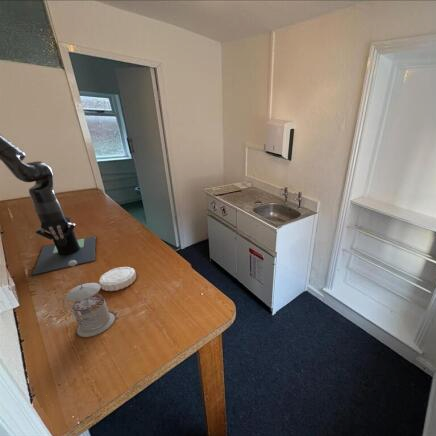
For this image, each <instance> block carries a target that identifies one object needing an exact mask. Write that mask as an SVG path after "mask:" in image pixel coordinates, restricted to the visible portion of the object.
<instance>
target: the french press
mask: <svg viewBox="0 0 436 436" xmlns="http://www.w3.org/2000/svg"><path fill="white" fill-rule="evenodd" d="M76 264H77V262H76V261H75V260H71V261H69V262H68V265H69V266H71V267H73V269H74V271H75V274H76V278H77V279H78V282H79V285H77V286H75V287H74V288H72V289H71V290H70V291H68V292H67V294H66V295H65V298H64V299H63V300H62V303H61V305H62V307H63V310H65V311H66V312H67V313H68V314H70V315H73V316H74V318H75V320H76V322H77V325H78V327H77V330H76V334H77V335H78V336H79V337H83V338H90V337H94V336H97V335H99V334H101V333H103V332H104V331H106V330H107V329H109V328H110V327H111V326H112V325H113V324H114V322H115V318H116V317H115V315H114V314H113V313H112V312H110V311H109V308H108V305H107V302H106V300H105V298H104V297H103V295H102V294H100V293H99V292H100V290H101V289H102V288H101V286H100V284H99V282H98V283H97V282H88V283H87V282H86V283H82V281H81V279H80V277H79V275H78V274H79V273H78V272H77V270H76V267H75V266H77V265H76ZM74 265H75V266H74ZM65 301H66V303H67V304H68V306H69V307H70V308H71V309H72V312H71V311H69V310H68V309H67V308H66V306H65ZM70 302H74V303H73V304H72V305H71V304H70ZM79 312H80V314H79Z"/></svg>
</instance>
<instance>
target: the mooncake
mask: <svg viewBox="0 0 436 436" xmlns="http://www.w3.org/2000/svg"><path fill="white" fill-rule="evenodd" d="M136 279H137V273H136V269H134V267H131V266H120V267H114V268H112V269H110V270H108V271H106V272H104V273H103V274H102V275H101V276H100V278H99V280H98V284H99V285H100V287H101V288H100V289H101V290H103V291H105V292H113V291H115V292H116V291H119V290H123V289H124V288H127V287H129V286H130V285H132V284H133V283H134V282H135V281H136Z"/></svg>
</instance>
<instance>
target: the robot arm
mask: <svg viewBox="0 0 436 436" xmlns="http://www.w3.org/2000/svg"><path fill="white" fill-rule="evenodd" d="M25 159H26V153H25V152H24V151H23V150H22V149H20V148H19V147H18V146H17V145H16V144H14V142H12V141H10V140H9V139H7V138H6V137H5V136H4V135H3V134H1V133H0V161H1V162H2V163H3V165H5V166H6V168H7V169H8V170H9V171H10V173H11V174H12V176H13V177H15V178H16V179H17V180H19V181H22V182H24V183H34V184H33V185H32V186H31V187H30V188H29V189H28V194H29V196H30V199H31V201H32V203H33V207H34V211H35V213H36V215H37V217H38V220H39V222H40V227H39V228H37V229H36V231H35V233H36V234H37V235H40V236H42V237H44V238H46V239H48V240H52V241H53V239H55V240H56V241H57V243H58V245H59V246H61V247H62V246H65V245H66V244H67V241H66V238H65V237H68V236H69V235H70V233H71V232H72V230H74V229H75V227H76V223H75V222H73V223H72V222H71V223H68V221H67V220H66V219H65V217H64V216H65V215H64V212H63V209H62V207H61V203H60V202H59V201H58V199H57V196H56V194H55V190H54V173H53V170H52V168H51V167H50V166H49V164H47V163H46V162H44V161H38V160H37V161H36V160H35V161H31V162H23V161H24V160H25ZM67 225H68V228H69V229H68V230H67V232H66V233H65V234H64V229H65V228H66V226H67ZM50 232H51V233H52V234H50ZM58 233H59V234H58ZM59 235H60V236H59Z"/></svg>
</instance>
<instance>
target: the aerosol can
mask: <svg viewBox="0 0 436 436" xmlns="http://www.w3.org/2000/svg"><path fill="white" fill-rule="evenodd" d="M64 217H65V219H66V220H67V221H68V223H72V222H71V217H68V216H66V215H64ZM68 229H69V228H68V225H67V226H66V228H65V229H64V234H65V233H66V232H67V230H68ZM49 233H50V234H52V233H51V232H49ZM58 234H59V233H58ZM59 236H60V235H59ZM65 238H66V241H67V244H66V245H65V246H62V247H61V246H59V245H58V243H57V241H56V240H55V239H52V241H53V244H55V246H56V248H57V251H58V254H59V255H68V254H72V253H75V252H77V251H79V250H80V248H81V247H80V246H79V244H78V241H77V240H78V238H77V236H76V233H75V230H74V229H73V230H72V232H71V233H70V235H69V236H68V237H65Z"/></svg>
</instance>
